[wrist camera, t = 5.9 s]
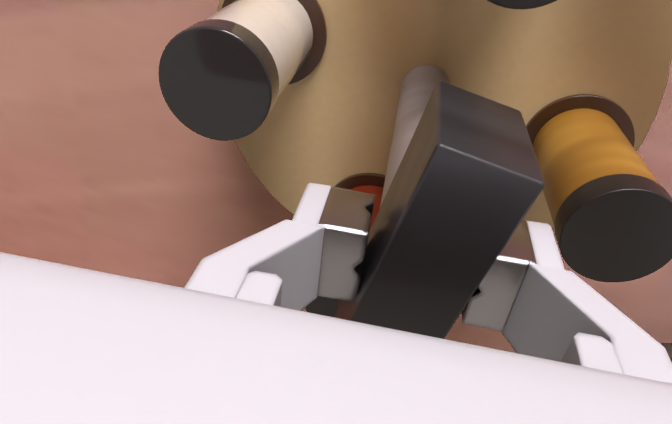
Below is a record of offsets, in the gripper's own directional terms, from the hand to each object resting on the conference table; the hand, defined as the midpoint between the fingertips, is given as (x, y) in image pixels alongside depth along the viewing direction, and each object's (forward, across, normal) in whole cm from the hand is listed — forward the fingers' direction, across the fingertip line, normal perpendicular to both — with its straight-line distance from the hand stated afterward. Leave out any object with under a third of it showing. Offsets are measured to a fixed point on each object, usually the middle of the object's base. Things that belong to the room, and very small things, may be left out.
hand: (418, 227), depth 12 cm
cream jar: (+9, +6, -1) cm, 11 cm away
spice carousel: (+12, 0, 0) cm, 12 cm away
